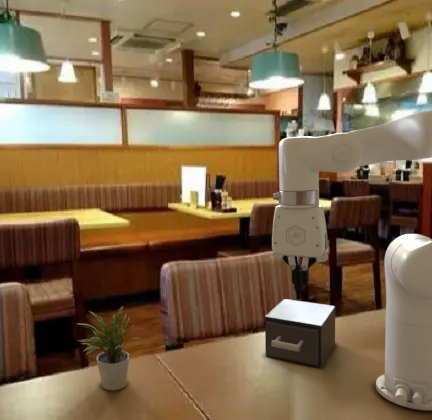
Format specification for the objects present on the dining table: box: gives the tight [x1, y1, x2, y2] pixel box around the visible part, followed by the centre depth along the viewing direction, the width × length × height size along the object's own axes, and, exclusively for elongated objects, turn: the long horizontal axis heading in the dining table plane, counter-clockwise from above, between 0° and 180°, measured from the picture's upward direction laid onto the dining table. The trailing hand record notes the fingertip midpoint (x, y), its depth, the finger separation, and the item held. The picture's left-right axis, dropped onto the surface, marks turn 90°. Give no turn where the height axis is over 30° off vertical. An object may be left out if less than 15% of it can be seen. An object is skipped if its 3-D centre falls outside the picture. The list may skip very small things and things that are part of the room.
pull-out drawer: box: [265, 321, 319, 365], centre depth 105 cm, size 18×12×8 cm, turn 146°
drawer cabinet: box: [264, 298, 336, 369], centre depth 108 cm, size 15×13×10 cm
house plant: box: [76, 305, 142, 391], centre depth 96 cm, size 14×14×16 cm
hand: (300, 287), depth 91 cm, fingers closed
